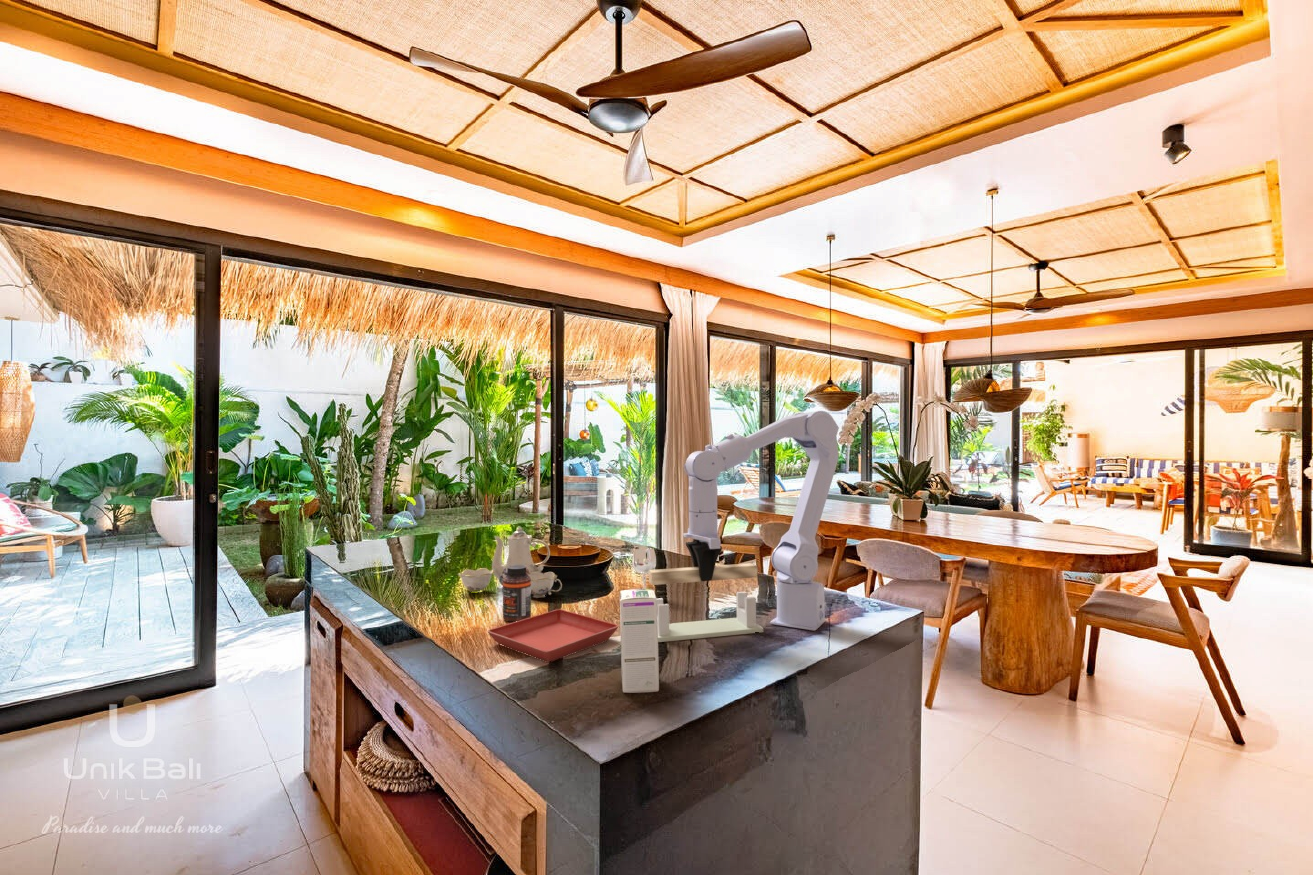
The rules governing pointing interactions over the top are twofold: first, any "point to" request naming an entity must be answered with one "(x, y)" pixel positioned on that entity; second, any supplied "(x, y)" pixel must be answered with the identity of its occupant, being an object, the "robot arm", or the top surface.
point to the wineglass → (644, 560)
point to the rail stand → (709, 622)
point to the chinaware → (517, 556)
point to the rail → (693, 575)
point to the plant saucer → (553, 634)
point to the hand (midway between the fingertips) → (703, 578)
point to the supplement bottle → (516, 594)
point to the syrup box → (639, 641)
